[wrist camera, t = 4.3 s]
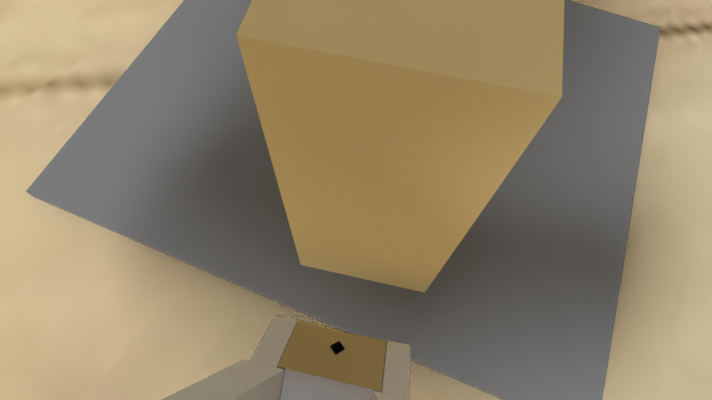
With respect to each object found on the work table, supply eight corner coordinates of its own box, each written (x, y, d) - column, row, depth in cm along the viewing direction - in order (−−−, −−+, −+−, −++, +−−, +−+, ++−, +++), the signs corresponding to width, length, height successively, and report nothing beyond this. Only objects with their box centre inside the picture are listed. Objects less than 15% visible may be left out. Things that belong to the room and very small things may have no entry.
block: (300, 264, 18) (236, 34, 7) (330, 159, 20) (317, -145, 9) (424, 292, 17) (562, 97, 7) (441, 181, 20) (567, -105, 9)
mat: (33, 196, 19) (25, 191, 19) (261, -84, 28) (260, -92, 27) (588, 436, 16) (596, 437, 15) (654, 34, 24) (660, 27, 24)
